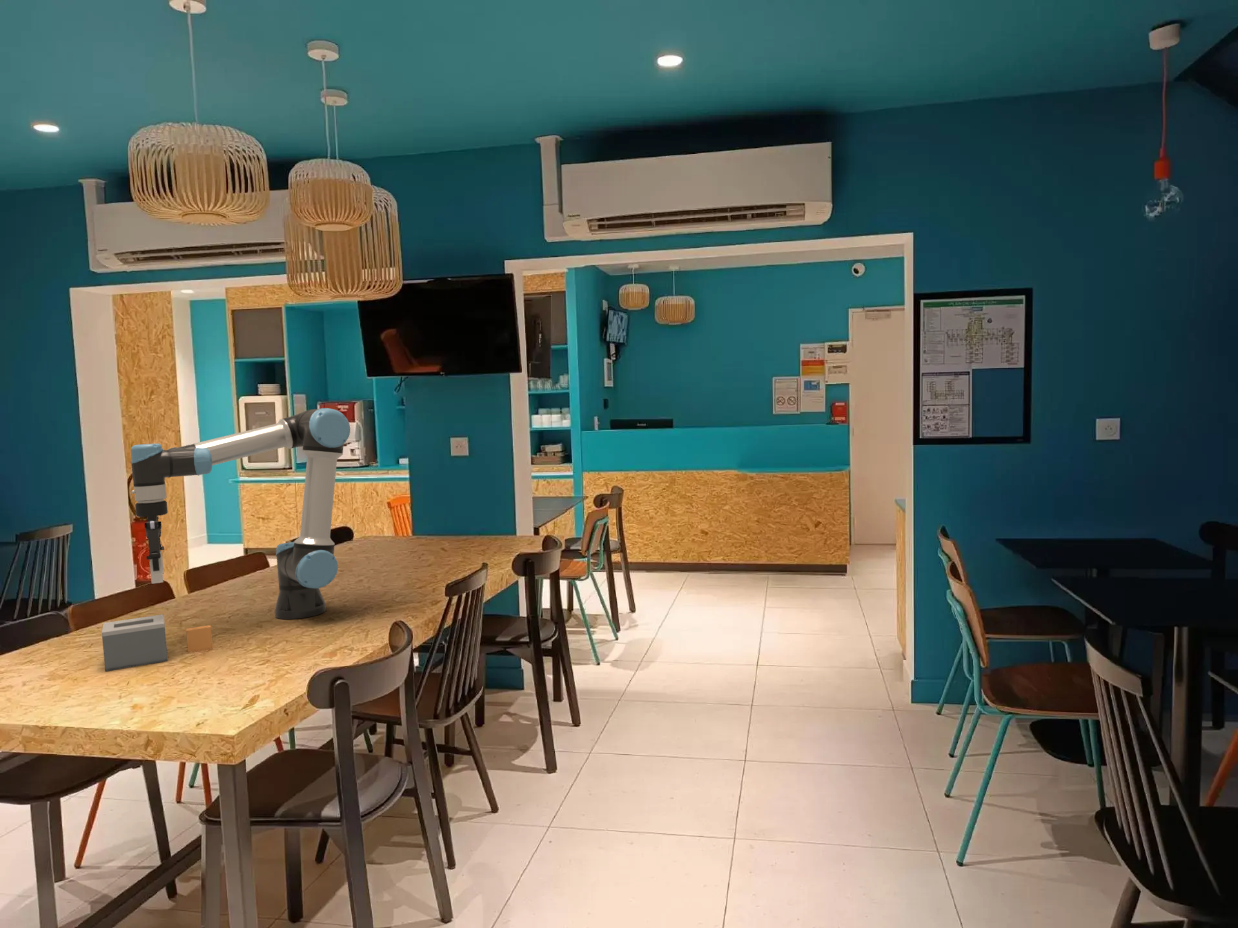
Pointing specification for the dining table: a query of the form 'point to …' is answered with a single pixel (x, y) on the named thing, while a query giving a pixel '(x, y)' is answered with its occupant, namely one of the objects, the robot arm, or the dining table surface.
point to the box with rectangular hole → (134, 642)
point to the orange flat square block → (199, 638)
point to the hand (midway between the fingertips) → (157, 578)
